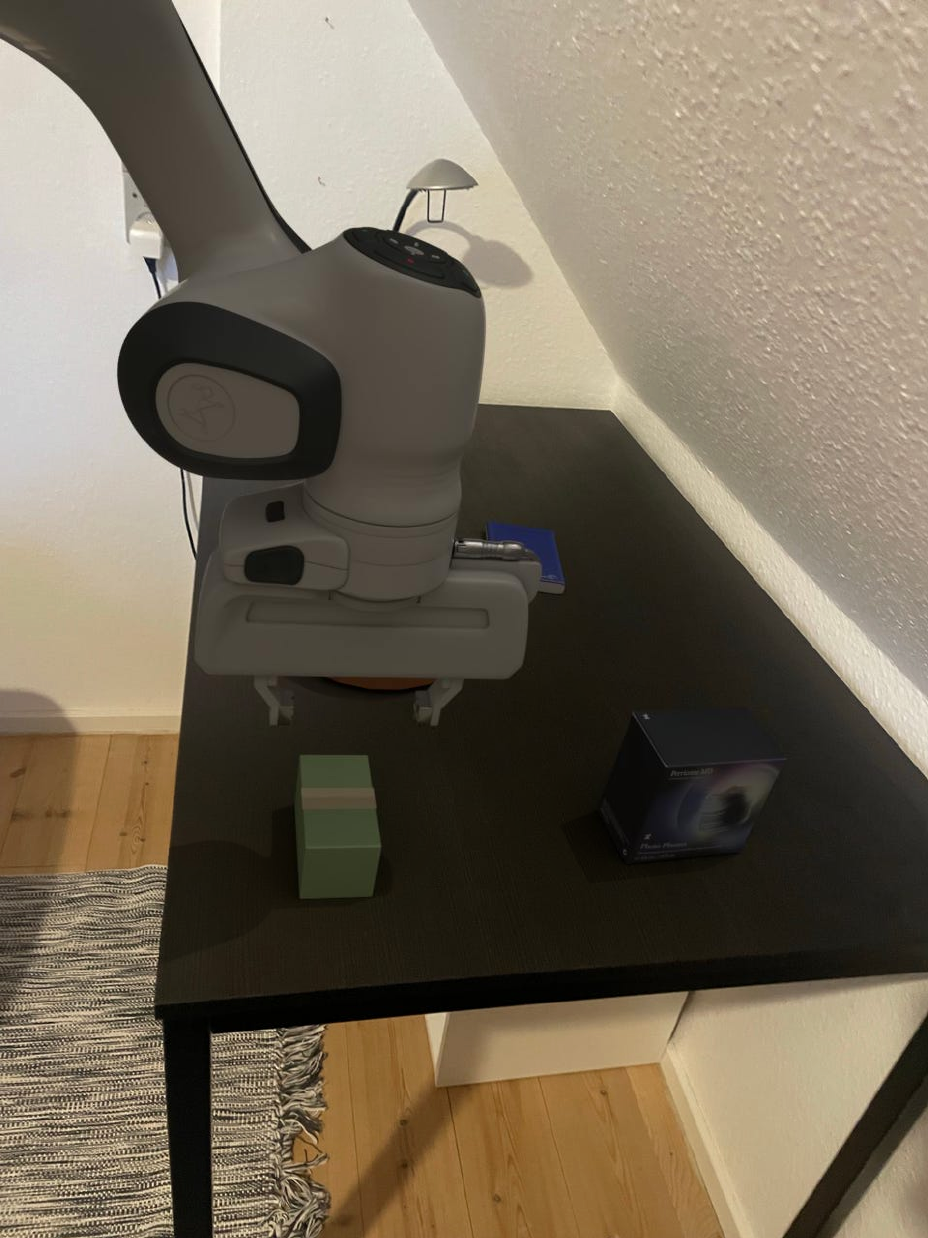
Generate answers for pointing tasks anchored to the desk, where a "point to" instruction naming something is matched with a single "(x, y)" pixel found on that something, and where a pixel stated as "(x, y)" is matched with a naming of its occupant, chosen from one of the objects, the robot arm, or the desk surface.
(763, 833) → the desk surface
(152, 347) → the robot arm
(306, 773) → the package
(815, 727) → the desk surface
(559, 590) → the hard drive
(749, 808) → the small box
